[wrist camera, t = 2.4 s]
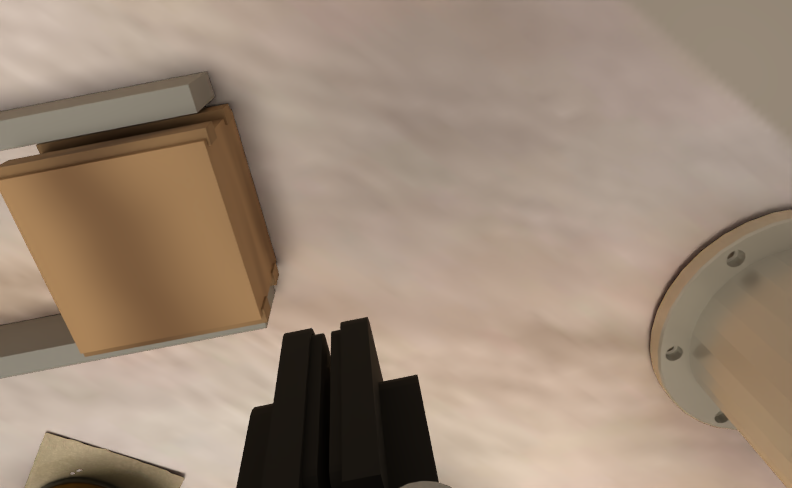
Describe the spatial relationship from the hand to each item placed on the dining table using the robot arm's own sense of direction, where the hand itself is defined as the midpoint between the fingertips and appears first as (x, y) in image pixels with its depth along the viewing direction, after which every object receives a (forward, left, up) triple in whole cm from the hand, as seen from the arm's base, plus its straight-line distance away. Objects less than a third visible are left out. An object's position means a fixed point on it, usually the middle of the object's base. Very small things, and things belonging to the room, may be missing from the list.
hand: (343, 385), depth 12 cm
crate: (+8, 0, -15) cm, 17 cm away
